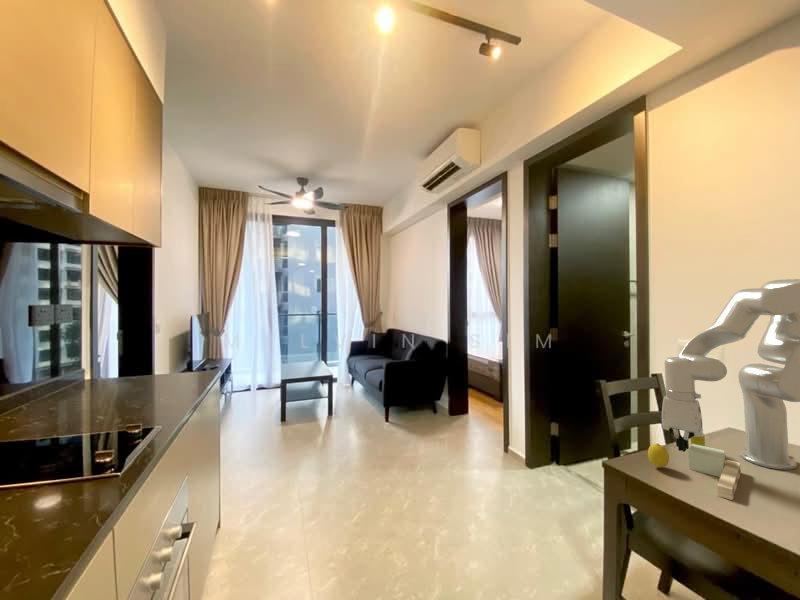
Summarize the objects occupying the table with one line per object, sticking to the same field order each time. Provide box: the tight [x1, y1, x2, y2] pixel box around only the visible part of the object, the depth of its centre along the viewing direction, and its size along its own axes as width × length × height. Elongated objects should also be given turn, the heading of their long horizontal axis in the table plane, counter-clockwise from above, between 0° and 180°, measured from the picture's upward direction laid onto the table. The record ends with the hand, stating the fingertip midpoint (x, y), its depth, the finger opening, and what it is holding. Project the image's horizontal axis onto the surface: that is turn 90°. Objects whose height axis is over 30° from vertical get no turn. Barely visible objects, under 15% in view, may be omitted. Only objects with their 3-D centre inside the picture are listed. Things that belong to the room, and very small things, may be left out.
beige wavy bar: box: [716, 459, 742, 501], centre depth 101 cm, size 20×3×3 cm, turn 131°
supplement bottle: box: [687, 427, 706, 450], centre depth 122 cm, size 5×5×8 cm
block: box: [688, 444, 726, 478], centre depth 109 cm, size 7×8×6 cm
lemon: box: [647, 443, 670, 469], centre depth 112 cm, size 6×6×8 cm
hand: (682, 449), depth 114 cm, fingers closed
